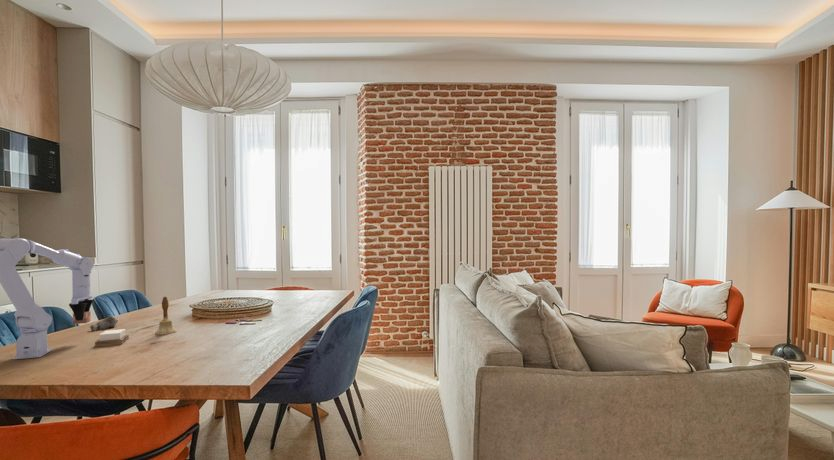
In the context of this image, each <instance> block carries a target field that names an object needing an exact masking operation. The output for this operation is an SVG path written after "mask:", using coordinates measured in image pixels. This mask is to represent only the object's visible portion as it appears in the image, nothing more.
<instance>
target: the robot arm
mask: <svg viewBox="0 0 834 460" xmlns="http://www.w3.org/2000/svg"><path fill="white" fill-rule="evenodd" d="M27 254H34V255H37V256H42V257H44V258H48V259H51V261H52V262H53V263H54V264H56V265H60V266H63V267H66V268H69V270H70V271H72V272H71V273H72V274H71V275H72V276H71V277H72V284H71V285H72V286H71V288H72V291H71V292H72V297H71V300H70V303H69V304H68V307H70V309H71V311H72V313H73V314H74V316H75V319H76V321H77V320H83V317H84V312H89V311H90V309H91V306H92V304H93V302H94V299H93V298H95V296H94V295H92V294H91V274H92V269H93V268H94V265H95V263H94V262H93V260H92V259H91V258H90V257H89V256H81V254H79V253H74V252H72V251H70V249H67V248H63V249H61V248H60V249H58V250H56V249H53V248H51V247H48V246H45V245H43V244H40V243H38V242H35V241H33V240H31V239H26V238H21V237H17V238H5V237H4V238H3V237H2V238H0V286H2V289H3V290H4V292H5V293H6V295H7V297H8V298H9V300H10V301H11V303H12V306H13V307H14V308H15V312H14V313H13V316H14V317H15V326H17V328H19V331H20V336H19V337H18V338H17V339H16V343H15V346H16V347H15V348H16V349H15V350H16V351H15V353H16V356H15V357H13V358H12V360H23V359H33V358H40V357H41V358H42V357H43V356H45V355H47V354H48V353H50V352H51V351H53V348H48V329H49V327H51V326H50V325H51V324H52V321H53V319H52V315H51V314H50V313H48V312H46V311H45V309H44V308H43V307H41V306H40V305H38V304H37V303H36V302H35V300H34V298H33V296H32V295H31V293H30V291H29V290H28V288H27V286H26V284H25V282H24V281H23V279H22V277H21V276H20V273H19V272H18V270H17V269H16V266H17V264H18V262H20V261H21V260H22V259H23V258H24V257H25V256H26V255H27Z"/></svg>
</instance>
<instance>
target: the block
mask: <svg viewBox="0 0 834 460" xmlns="http://www.w3.org/2000/svg"><path fill="white" fill-rule="evenodd" d="M91 315H92V314H91V311H90V310H89V312H84V317H83V320H77V321H76V319H75V316H74V313H73V314H72V325H80V324H81V325H82V324H88V323H89V322H91V320H92V319H91Z"/></svg>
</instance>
